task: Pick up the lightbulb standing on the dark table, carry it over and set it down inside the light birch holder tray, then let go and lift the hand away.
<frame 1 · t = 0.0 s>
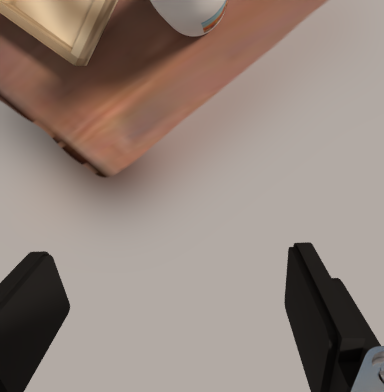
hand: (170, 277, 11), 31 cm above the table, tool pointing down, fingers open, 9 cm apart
milk bottle: (194, 0, 33), on the table
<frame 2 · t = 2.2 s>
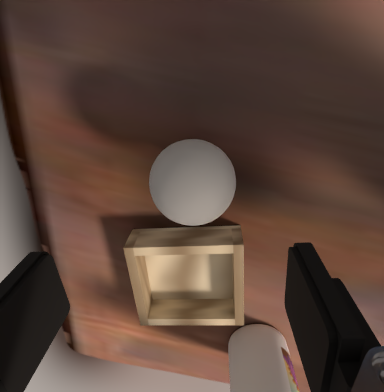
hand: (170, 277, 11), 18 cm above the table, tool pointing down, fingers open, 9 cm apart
milk bottle: (256, 340, 38), on the table
lightbulb: (198, 150, 27), on the table
holder: (189, 266, 33), on the table
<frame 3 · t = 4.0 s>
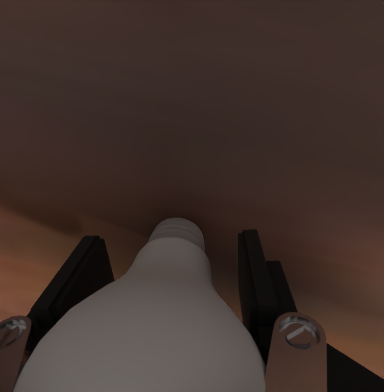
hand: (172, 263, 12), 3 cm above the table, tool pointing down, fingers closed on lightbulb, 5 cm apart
lightbulb: (179, 229, 14), on the table, touching gripper
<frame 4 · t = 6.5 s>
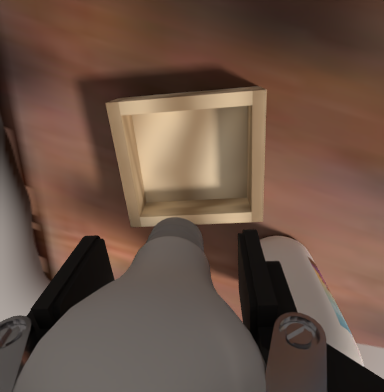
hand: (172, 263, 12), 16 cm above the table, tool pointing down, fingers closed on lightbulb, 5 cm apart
milk bottle: (273, 261, 31), on the table
lightbulb: (178, 228, 14), point 13 cm above the table, touching gripper
holder: (192, 154, 26), on the table
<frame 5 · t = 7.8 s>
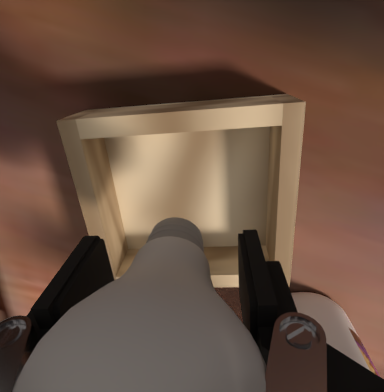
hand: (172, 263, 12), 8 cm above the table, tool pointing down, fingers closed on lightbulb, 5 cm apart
milk bottle: (296, 320, 24), on the table
lightbulb: (178, 228, 14), point 5 cm above the table, touching gripper
holder: (190, 187, 19), on the table
when the fingers open (4 cm above the table, at t = 8.9 s): lightbulb drops 1 cm, resting on holder.
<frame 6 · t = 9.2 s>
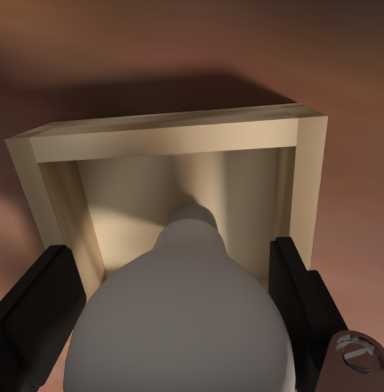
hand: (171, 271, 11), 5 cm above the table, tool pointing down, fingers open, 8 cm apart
lightbulb: (193, 215, 15), resting on holder
holder: (181, 212, 16), on the table
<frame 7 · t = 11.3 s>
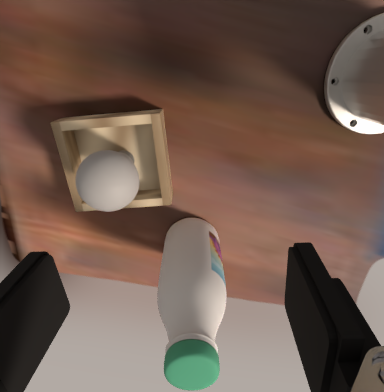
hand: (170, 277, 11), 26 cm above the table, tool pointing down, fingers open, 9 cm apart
milk bottle: (192, 238, 41), on the table
lightbulb: (126, 157, 35), resting on holder
holder: (121, 157, 36), on the table
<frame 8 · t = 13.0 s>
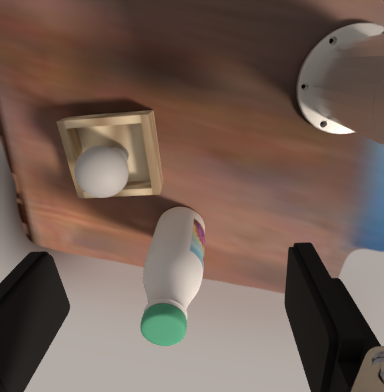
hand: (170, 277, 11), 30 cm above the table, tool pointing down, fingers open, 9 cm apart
milk bottle: (181, 225, 46), on the table
lightbulb: (122, 152, 40), resting on holder
holder: (118, 152, 41), on the table
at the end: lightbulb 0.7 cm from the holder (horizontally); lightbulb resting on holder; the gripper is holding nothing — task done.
